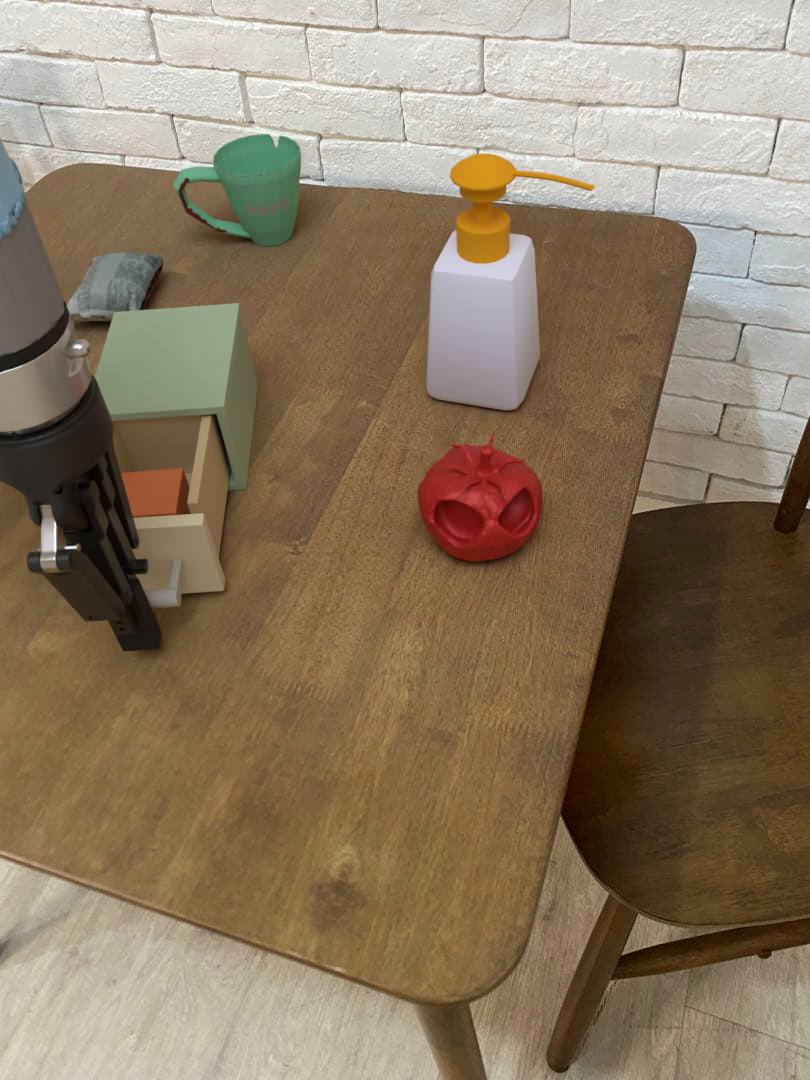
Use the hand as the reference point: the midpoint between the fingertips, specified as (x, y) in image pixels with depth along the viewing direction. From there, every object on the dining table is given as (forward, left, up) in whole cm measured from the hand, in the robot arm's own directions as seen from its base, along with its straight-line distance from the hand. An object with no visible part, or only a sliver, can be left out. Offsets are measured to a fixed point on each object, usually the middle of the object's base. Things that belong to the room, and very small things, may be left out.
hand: (142, 641), depth 70 cm
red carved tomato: (+26, +11, -3) cm, 28 cm away
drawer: (0, +10, -1) cm, 10 cm away
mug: (+3, +60, -3) cm, 60 cm away
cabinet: (0, +25, -2) cm, 25 cm away
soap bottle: (+30, +30, -2) cm, 43 cm away
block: (0, +11, 0) cm, 11 cm away
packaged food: (-11, +48, -3) cm, 49 cm away
